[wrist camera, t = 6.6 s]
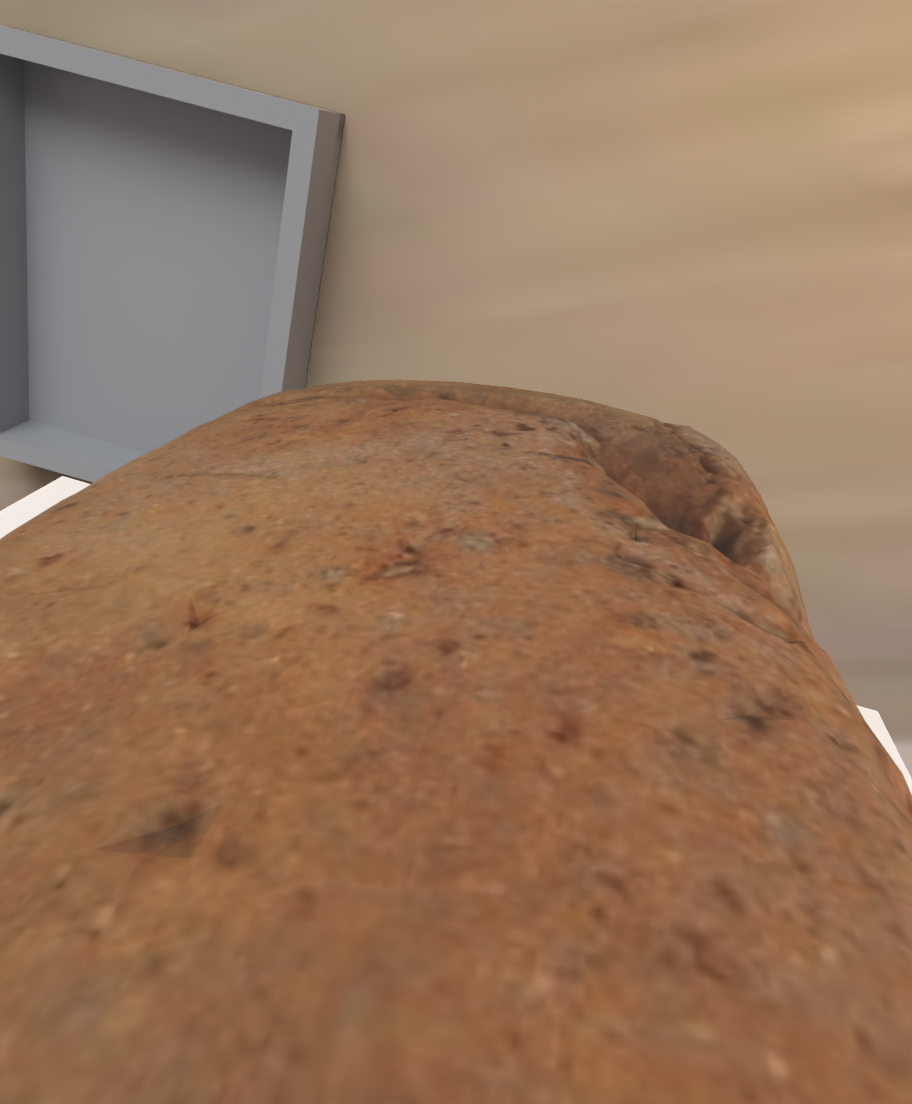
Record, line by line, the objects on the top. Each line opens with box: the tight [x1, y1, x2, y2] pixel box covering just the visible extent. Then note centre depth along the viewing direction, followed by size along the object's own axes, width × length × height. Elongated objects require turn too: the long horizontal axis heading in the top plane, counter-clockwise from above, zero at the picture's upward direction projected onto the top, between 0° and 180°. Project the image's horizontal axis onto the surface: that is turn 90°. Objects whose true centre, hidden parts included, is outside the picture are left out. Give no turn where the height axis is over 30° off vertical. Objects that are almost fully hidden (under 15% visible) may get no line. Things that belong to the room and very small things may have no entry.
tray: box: [0, 25, 345, 483], centre depth 31 cm, size 13×16×3 cm
